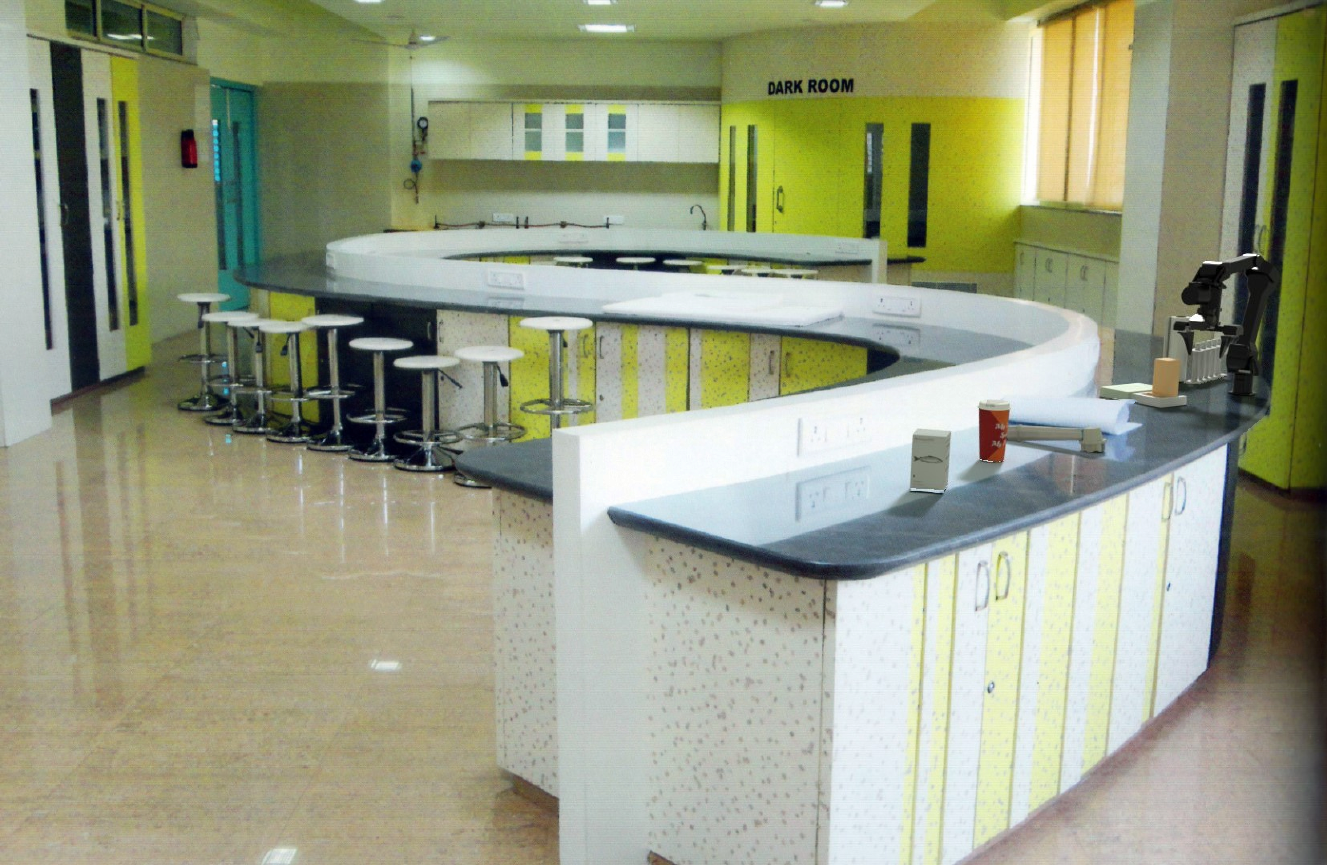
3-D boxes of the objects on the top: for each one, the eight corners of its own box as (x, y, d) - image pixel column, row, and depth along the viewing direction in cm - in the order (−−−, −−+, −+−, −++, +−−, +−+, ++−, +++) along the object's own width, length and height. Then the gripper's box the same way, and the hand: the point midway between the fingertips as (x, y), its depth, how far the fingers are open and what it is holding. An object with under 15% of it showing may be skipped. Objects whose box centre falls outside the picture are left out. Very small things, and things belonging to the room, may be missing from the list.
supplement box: (908, 492, 253) (911, 434, 250) (914, 484, 260) (916, 427, 257) (944, 495, 250) (946, 436, 248) (949, 486, 257) (951, 429, 254)
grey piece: (1011, 423, 306) (1108, 421, 290) (1013, 448, 307) (1110, 448, 291) (1002, 426, 302) (1100, 425, 286) (1004, 452, 303) (1102, 452, 287)
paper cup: (1003, 465, 277) (1006, 406, 274) (970, 461, 280) (973, 403, 278) (1012, 458, 283) (1015, 400, 280) (980, 455, 287) (983, 397, 284)
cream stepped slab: (1137, 392, 372) (1138, 382, 371) (1195, 403, 353) (1196, 393, 352) (1099, 396, 365) (1100, 386, 365) (1156, 408, 346) (1157, 397, 345)
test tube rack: (1197, 385, 386) (1200, 344, 383) (1183, 383, 389) (1186, 343, 386) (1227, 376, 403) (1230, 337, 400) (1213, 375, 406) (1217, 336, 403)
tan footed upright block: (1163, 400, 358) (1166, 357, 355) (1176, 403, 353) (1180, 359, 351) (1146, 402, 355) (1149, 359, 352) (1159, 405, 350) (1163, 361, 348)
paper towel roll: (1187, 380, 395) (1192, 316, 390) (1184, 382, 390) (1189, 317, 385) (1164, 378, 398) (1169, 314, 394) (1160, 381, 393) (1165, 316, 389)
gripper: (1167, 303, 354) (1162, 355, 357) (1230, 308, 340) (1225, 362, 343) (1183, 301, 361) (1178, 352, 364) (1246, 306, 348) (1241, 359, 351)
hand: (1204, 356), depth 355 cm, fingers open, 9 cm apart
